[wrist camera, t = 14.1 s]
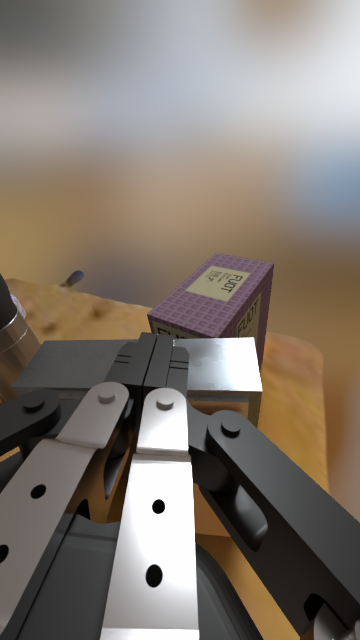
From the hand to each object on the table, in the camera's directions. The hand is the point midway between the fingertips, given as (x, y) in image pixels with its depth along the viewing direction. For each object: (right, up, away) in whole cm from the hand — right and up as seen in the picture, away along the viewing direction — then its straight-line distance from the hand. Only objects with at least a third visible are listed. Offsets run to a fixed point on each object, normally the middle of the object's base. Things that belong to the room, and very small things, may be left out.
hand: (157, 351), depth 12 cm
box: (+8, -10, +33) cm, 36 cm away
